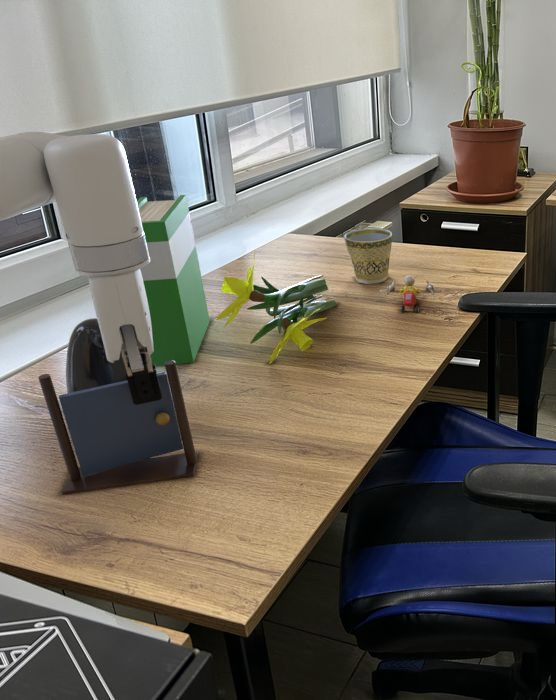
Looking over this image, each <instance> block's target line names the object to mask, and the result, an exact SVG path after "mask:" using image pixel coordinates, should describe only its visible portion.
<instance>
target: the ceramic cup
mask: <svg viewBox="0 0 556 700" xmlns="http://www.w3.org/2000/svg"><path fill="white" fill-rule="evenodd" d="M343 238H344V242H345V246H346V250H347V253H348V255H349V257H350V260H351V261H350V262H351V265H352V268H353V273H354V276H355V279H356V282H357V283H360V284H365V285H371V284H373V285H374V284H381V283H383V282H384V281H386V280H388V276H389V269H390V258H391V252H392V244H393V233H392V230H391V229H385V228H376V227H372V228H371V227H369V228H360V229H354V230H351V231H348V232H347V233H345V234H344V236H343Z"/></svg>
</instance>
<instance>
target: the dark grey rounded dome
mask: <svg viewBox="0 0 556 700" xmlns="http://www.w3.org/2000/svg"><path fill="white" fill-rule="evenodd" d="M126 380H127V377H126V368H125V364H124V360H123V358H122V353H121V352H120V357H119V360H115V361H114V363H111V362H109V361H108V360H107V357H106V352H105V348H104V344H103V340H102V336H101V332H100V328H99V324H98V320H97V317H96V318H87V319H85V320H82V321H81V322H79V323H78V324H77V325H76V326H74V328H73V330H72V332H71V334H70V337H69V340H68V344H67V349H66V358H65V384H66V394H67V393H72V392H76V391H81V390H85V389H90V388H94V387H99V386H103V385H108V384H113V383H117V382H122V381H126Z"/></svg>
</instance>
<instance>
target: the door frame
mask: <svg viewBox="0 0 556 700" xmlns="http://www.w3.org/2000/svg"><path fill="white" fill-rule="evenodd" d="M164 367H165V368H164V369H165V372H166V374H167V379H168V383H169V387H170V392H171V396H172V401H173V405H174V409H175V414H176V418H177V423H178V427H179V432H180V436H181V440H182V445H183V452H184V453H176V454H170V455H160V456H155V457H152V458H148V459H144V460H140V461H137V462H133V463H129V464H125V465H122V466H118V467H114V468H110V469H107V470H103V471H99V472H96V473H92V474H88V475H84V476H83V475H82V472H81V469H80V466H79V463H78V460H77V457H76V453H75V450H74V447H73V444H72V440H71V437H70V434H69V431H68V427H67V424H66V421H65V418H64V414H63V411H62V410H61V409H62V408H61V405H60V401H59V400H58V399H59V398H58V396H57V393H56V389H55V386H54V383H53V379H52V376H51V374H49V373H44V374H41V375H39V376H38V381H39V384H40V388H41V391H42V393H43V398H44V401H45V404H46V407H47V410H48V413H49V415H50V419H51V422H52V426H53V429H54V432H55V436H56V439H57V442H58V445H59V448H60V451H61V454H62V457H63V460H64V464H65V467H66V470H67V473H68V477H67V479H66V481H65V484H64V485H63V488H62V490H61V494H62V496H63V495H70V494H71V495H72V494H78V493H79V494H80V493H86V492H93V491H100V490H109V489H114V488H121V487H122V488H123V487H130V486H135V485H143V484H144V485H145V484H150V483H151V484H152V483H158V482H164V481H170V480H171V481H172V480H179V479H187V478H193V477H195V472H196V467H197V464H198V459H199V451H196V450H195V446H194V440H193V436H192V431H191V428H190V422H189V417H188V414H187V409H186V404H185V400H184V395H183V390H182V386H181V380H180V377H179V372H178V366H177V364H176V362H175V361H173V360H171V361H167V362H165V365H164Z"/></svg>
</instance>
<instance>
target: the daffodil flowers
mask: <svg viewBox="0 0 556 700" xmlns="http://www.w3.org/2000/svg"><path fill="white" fill-rule="evenodd" d="M255 264H256V251H254V252H253V264H252V268H251V267H250V266H248V267H247V273H246V274H247V275H246V280H245V279H242V278H238V277H233V276H229V275H226V276H224V278H223V279H224V280H223V282H222V286H221V285H220V286H221V288H220V291H221V293H227V294H231V295H236V296H237V297H236V298H235V299H234V300H233V301H232V302H231V303H230V304H229V305H228V306H227V307H226V308H224V310H222V311H221V313H219V314H218V315H217V316H216V318H214V321H217V320H222V319H225V318H226V317H228V319H227V321H226V322H225V324H224V326H223V328H226V326H228V324H230V323H231V322H233V321H234V320H235V318H236V317H237V315H238V314H239V312H240V311H241V309H242V307H243V305H245V304H247V303H248V301H251V302H254V303H257V304H254V305H252V306H249V307H248V308H246V310H249V311H252V310H253V311H255V310H256V311H257V310H265V312H266V313H267V315H269V316H270V317H273V319H272V320H270V321H269V322H267V323H266V324H264V325H263V326H262V327H261V328H260V329H259V330H258V332H256V334H255V335H254V336H253V338H252V339H251V341H250V343H249V344H250V345H252V344H254V343H256V342H257V341H258V340H259V339H261V338H263V337H264V336H265V335H267V334H268V333H270V331H272V330H274V329H276V328H277V330H278V334H279V335H281V334H282V330H283V332H284V333H283V335H282V336H281V339H280V341H279V343H278V344H277V345H276V347H275V348H274V349H273V350H272V353H271V355H270V358H269V365H270V364H272V363H273V362H274V360H275V359H276V358H277V357H278V355H279V354H280V353H281V351H282V350H283V348H284V347H285V346H286V344H287V343H288V341H291V342H292V343H293V344H295V345H296V346H297V347H298V349H299V350H300V352H304V351H307V350H309V348H311V347H312V346H311V345H313V343H314V339H313V338H311V337H310V336H308V335H306V333H305V331H304V329H306V328H307V327H309V326H311V325H313V324H315V323H317V322H321V321H325V320H327V319H328V317H320V318H314V319H310V317H311V316H313V315H315V314H318V313H321V312H324V311H326V310H329V309H331V308H334V307H336V306H337V301H336V300H335V299H334V298H333V299H330V300H327V301H325V300H324V299H322V300H319V299H321V298H322V297H324V294H320V293H323V292H326V291H329V287H328V285H327V281H326V279H325V278H323V277H324V274H319V275H316V276H313V277H310V278H308V279H305V280H303V281H301V282H298V283H296V284H294V285H291V286H288V287H285V288H284V289H280V288H279V289H278V288H277V287H275V286H274V285H273V284H271V283H270V282H269V281H268V280H267V279H266V278H264V277H263V276H261V277H260V278H261V280H262V282H263V283H264V285H265V286H266V287H263V286H259V285H256V284H254V273H255ZM317 294H320V295H317ZM296 302H298V303H296ZM291 303H294V304H291ZM287 304H290V305H287ZM283 305H285V306H283ZM281 306H282V307H281ZM272 308H273V309H272ZM299 318H300V320H299ZM308 319H310V320H308ZM298 320H299V321H298Z"/></svg>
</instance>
